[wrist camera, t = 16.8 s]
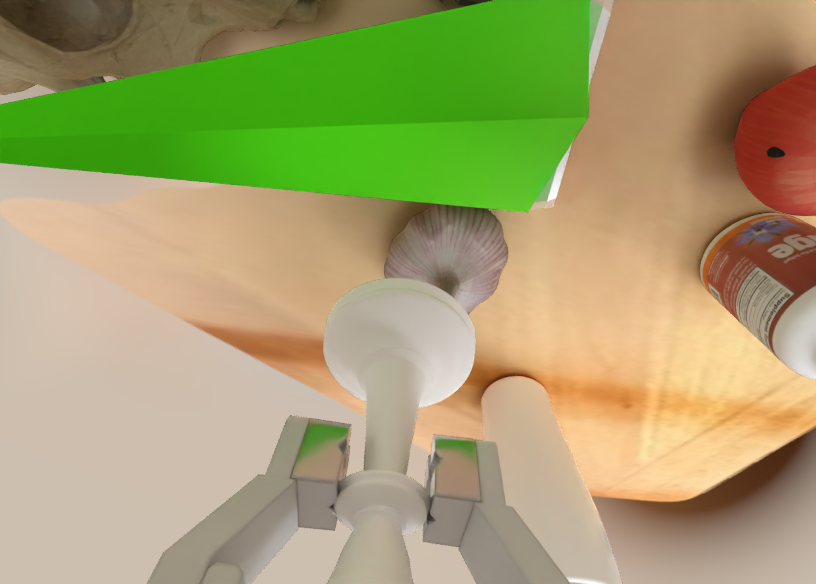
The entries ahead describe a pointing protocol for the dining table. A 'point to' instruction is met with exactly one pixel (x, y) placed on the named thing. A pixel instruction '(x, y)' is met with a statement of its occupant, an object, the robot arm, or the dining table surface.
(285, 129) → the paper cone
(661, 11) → the dining table surface
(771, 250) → the pill bottle
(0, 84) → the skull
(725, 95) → the dining table surface
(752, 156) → the apple
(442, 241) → the garlic bulb
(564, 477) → the drinking glass
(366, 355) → the chess piece
